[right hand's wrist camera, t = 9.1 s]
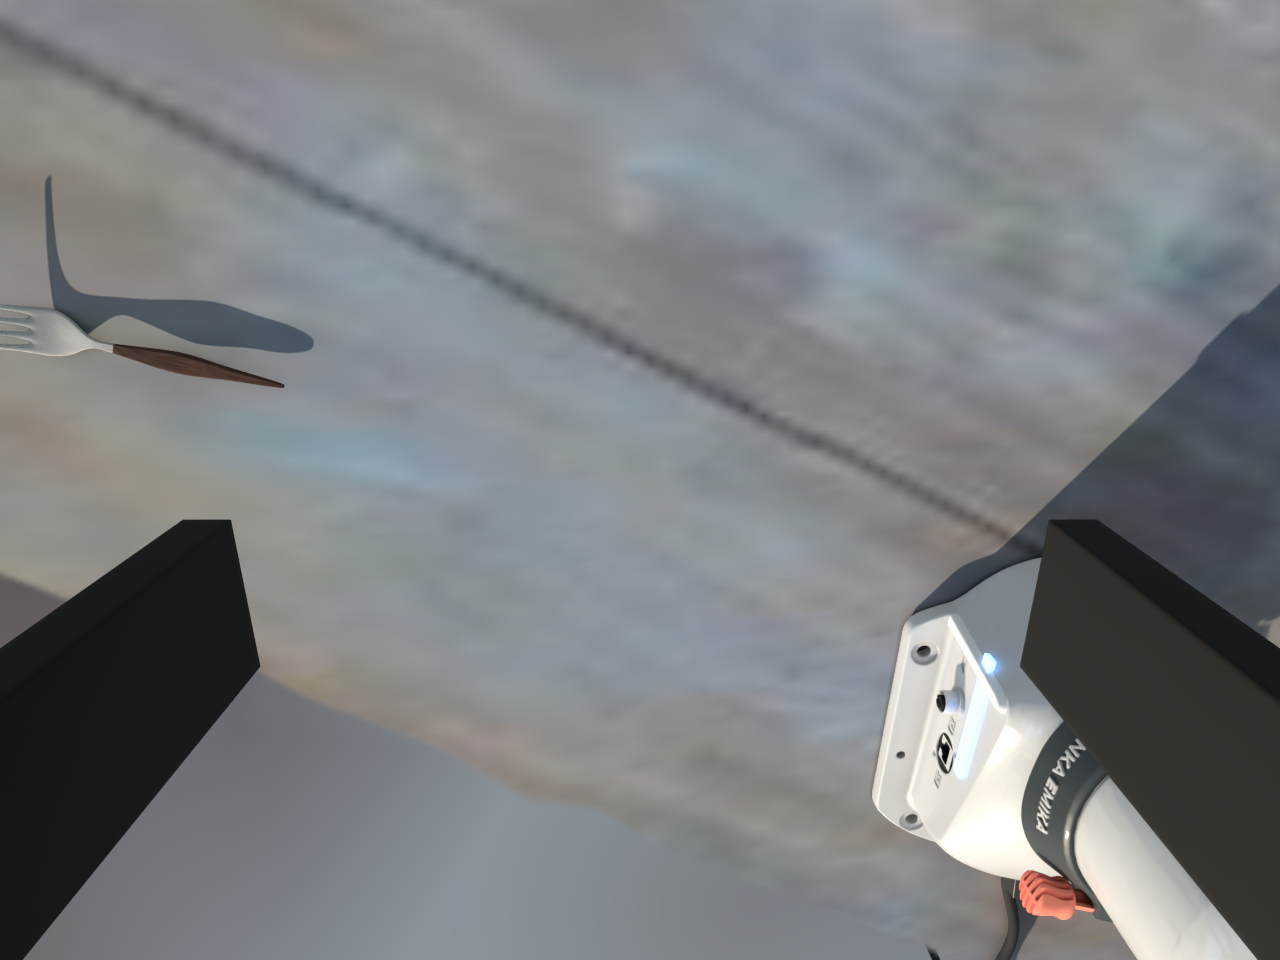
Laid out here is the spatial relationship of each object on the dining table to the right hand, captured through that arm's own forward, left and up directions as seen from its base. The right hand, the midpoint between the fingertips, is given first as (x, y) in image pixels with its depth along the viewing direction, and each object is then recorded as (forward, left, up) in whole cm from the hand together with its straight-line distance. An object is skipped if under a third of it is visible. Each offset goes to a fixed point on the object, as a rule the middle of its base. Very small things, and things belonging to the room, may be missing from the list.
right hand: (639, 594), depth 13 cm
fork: (+2, -27, -31) cm, 41 cm away
